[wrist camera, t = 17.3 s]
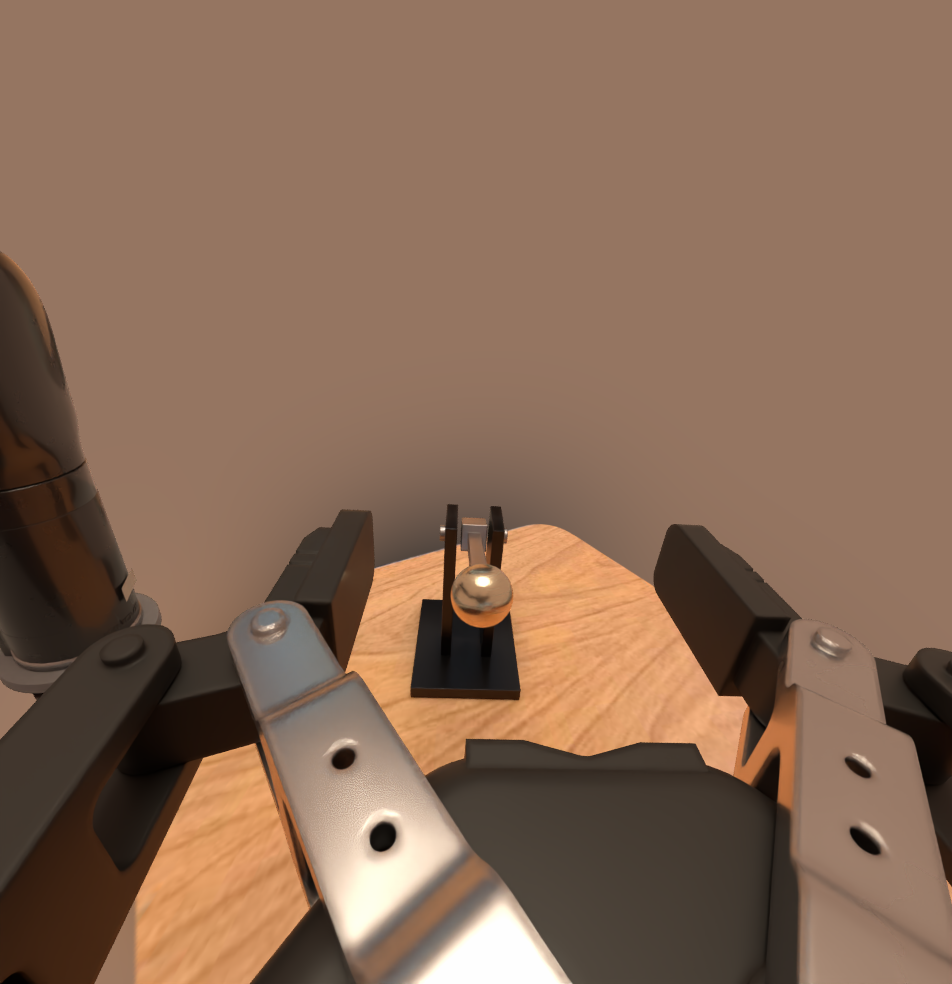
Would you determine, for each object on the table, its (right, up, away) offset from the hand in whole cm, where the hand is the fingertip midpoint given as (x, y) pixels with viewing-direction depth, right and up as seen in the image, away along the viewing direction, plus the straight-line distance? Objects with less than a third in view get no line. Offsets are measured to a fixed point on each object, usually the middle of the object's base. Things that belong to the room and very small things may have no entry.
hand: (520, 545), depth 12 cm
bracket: (-2, -15, +33) cm, 36 cm away
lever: (-1, -5, +20) cm, 21 cm away
